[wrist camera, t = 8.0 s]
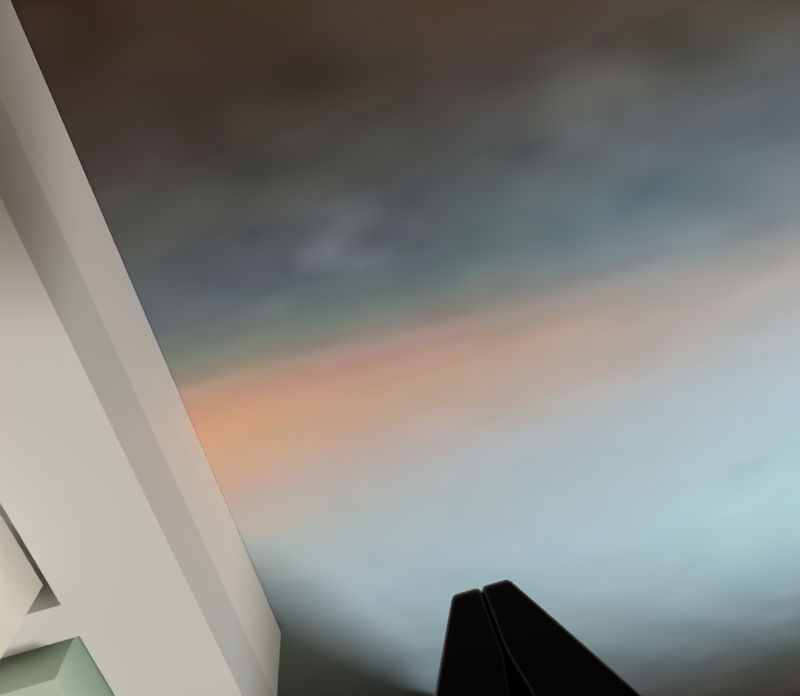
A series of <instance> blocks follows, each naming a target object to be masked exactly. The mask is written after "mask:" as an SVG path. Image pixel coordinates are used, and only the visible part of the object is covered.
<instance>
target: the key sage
mask: <svg viewBox="0 0 800 696" xmlns="http://www.w3.org/2000/svg"><path fill="white" fill-rule="evenodd" d="M0 696H115V695H114V693H113V691H112V690H111V688H110V686H109V685H108V683H107V681H106V680H105V678H104V676H103V675H102V673H101V671H100V670H99V668H98V666H97V665H96V663H95V661H94V660H93V658H92V656H91V654H90V653H89V651H88V649H87V648H86V646H85V644H84V643H83V641H82V639H81V638H80V636H77V637H74V638H70V639H67V640H63V641H60V642H56V643H53V644H50V645H46V646H43V647H39V648H36V649H32V650H29V651H25V652H22V653H19V654H15V655H12V656H8V657H5V658H1V659H0Z"/></svg>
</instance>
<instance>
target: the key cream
mask: <svg viewBox="0 0 800 696" xmlns="http://www.w3.org/2000/svg"><path fill="white" fill-rule="evenodd" d="M42 586H43V584H42V583H41V581H40V579H39V578H38V576H37V574H36V573H35V571H34V569H33V568H32V566H31V564H30V563H29V561H28V559H27V558H26V556H25V554H24V553H23V551H22V549H21V548H20V546H19V544H18V543H17V541H16V539H15V538H14V536H13V534H12V533H11V531H10V529H9V528H8V526H7V524H6V523H5V521H4V519H3V518H2V516H1V514H0V659H1V657H2V656H3V654H4V652H5V650H6V649H7V647H8V645H9V643H10V642H11V640H12V638H13V637H14V635H15V633H16V631H17V630H18V628H19V626H20V624H21V623H22V621H23V619H24V617H25V616H26V614H27V612H28V610H29V609H30V607H31V605H32V603H33V602H34V600H35V598H36V596H37V595H38V593H39V591H40V589H41V588H42Z"/></svg>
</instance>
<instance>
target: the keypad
mask: <svg viewBox="0 0 800 696" xmlns="http://www.w3.org/2000/svg"><path fill="white" fill-rule="evenodd" d="M0 514H1V516H2V518H3V519H4V521H5V523H6V524H7V526H8V528H9V529H10V531H11V533H12V534H13V536H14V538H15V539H16V541H17V543H18V544H19V546H20V548H21V549H22V551H23V553H24V554H25V556H26V558H27V559H28V561H29V563H30V564H31V566H32V568H33V569H34V571H35V573H36V574H37V576H38V578H39V579H40V581H41V583H42V584H43V586H42V588H41V589H40V591H39V593H38V595H37V596H36V598H35V600H34V602H33V603H32V605H31V607H30V609H29V610H28V612H27V614H26V616H25V617H24V619H23V621H22V623H21V624H20V626H19V628H18V630H17V631H16V633H15V635H14V637H13V638H12V640H11V642H10V643H9V645H8V647H7V649H6V650H5V652H4V654H3V656H2V657H1V658H5V657H8V656H12V655H15V654H19V653H22V652H25V651H29V650H32V649H36V648H39V647H43V646H46V645H50V644H53V643H56V642H60V641H63V640H67V639H70V638H74V637H77V636H80V638H81V639H82V641H83V643H84V644H85V646H86V648H87V649H88V651H89V653H90V654H91V656H92V658H93V660H94V661H95V663H96V665H97V666H98V668H99V670H100V671H101V673H102V675H103V676H104V678H105V680H106V681H107V683H108V685H109V686H110V688H111V690H112V691H113V693H114V695H115V696H277V688H278V673H279V657H280V641H281V631H280V629H279V627H278V624H277V622H276V620H275V617H274V615H273V613H272V610H271V608H270V606H269V603H268V601H267V599H266V596H265V594H264V592H263V589H262V587H261V585H260V582H259V580H258V578H257V575H256V573H255V571H254V568H253V566H252V564H251V561H250V559H249V556H248V554H247V552H246V549H245V547H244V545H243V542H242V540H241V538H240V535H239V533H238V531H237V528H236V526H235V524H234V521H233V519H232V517H231V514H230V512H229V510H228V507H227V505H226V503H225V500H224V498H223V496H222V493H221V491H220V489H219V486H218V484H217V482H216V479H215V477H214V475H213V472H212V470H211V468H210V465H209V463H208V461H207V458H206V456H205V454H204V451H203V449H202V447H201V444H200V442H199V440H198V437H197V435H196V433H195V430H194V428H193V426H192V423H191V421H190V419H189V416H188V414H187V412H186V409H185V407H184V405H183V402H182V400H181V398H180V395H179V393H178V391H177V388H176V386H175V384H174V381H173V379H172V377H171V374H170V372H169V370H168V367H167V365H166V363H165V360H164V358H163V356H162V353H161V351H160V349H159V346H158V344H157V342H156V339H155V337H154V334H153V332H152V330H151V327H150V325H149V323H148V320H147V318H146V316H145V313H144V311H143V309H142V306H141V304H140V302H139V299H138V297H137V295H136V292H135V290H134V288H133V285H132V283H131V281H130V278H129V276H128V274H127V271H126V269H125V267H124V264H123V262H122V260H121V257H120V255H119V253H118V250H117V248H116V246H115V243H114V241H113V239H112V236H111V234H110V232H109V229H108V227H107V225H106V222H105V220H104V218H103V215H102V213H101V211H100V208H99V206H98V204H97V201H96V199H95V197H94V194H93V192H92V190H91V187H90V185H89V183H88V180H87V178H86V176H85V173H84V171H83V169H82V166H81V164H80V162H79V159H78V157H77V155H76V152H75V150H74V148H73V145H72V143H71V141H70V138H69V136H68V134H67V131H66V129H65V127H64V124H63V122H62V120H61V117H60V115H59V113H58V110H57V108H56V105H55V103H54V101H53V98H52V96H51V94H50V91H49V89H48V87H47V84H46V82H45V80H44V77H43V75H42V73H41V70H40V68H39V66H38V63H37V61H36V59H35V56H34V54H33V52H32V49H31V47H30V45H29V42H28V40H27V38H26V35H25V33H24V31H23V28H22V26H21V24H20V21H19V19H18V17H17V14H16V12H15V10H14V7H13V5H12V3H11V0H0Z"/></svg>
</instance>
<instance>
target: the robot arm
mask: <svg viewBox="0 0 800 696" xmlns="http://www.w3.org/2000/svg"><path fill="white" fill-rule="evenodd" d="M435 696H642V695H641V694H640V693H639V692H638V691H636V690H635V689H634V688H633V687H632V686H631V685H630V684H628V683H627V682H626V681H625V680H624V679H623V678H622V677H620V676H619V675H618V674H617V673H616V672H615V671H613V670H612V669H611V668H610V667H609V666H608V665H607V664H605V663H604V662H603V661H602V660H601V659H600V658H599V657H597V656H596V655H595V654H594V653H593V652H592V651H590V650H589V649H588V648H587V647H586V646H585V645H584V644H582V643H581V642H580V641H579V640H578V639H577V638H576V637H574V636H573V635H572V634H571V633H570V632H569V631H567V630H566V629H565V628H564V627H563V626H562V625H561V624H559V623H558V622H557V621H556V620H555V619H554V618H553V617H551V616H550V615H549V614H548V613H547V612H546V611H544V610H543V609H542V608H541V607H540V606H539V605H538V604H536V603H535V602H534V601H533V600H532V599H531V598H530V597H528V596H527V595H526V594H525V593H524V592H523V591H521V590H520V589H519V588H518V587H517V586H516V585H515V584H513V583H512V582H511V581H509V580H503V581H500V582H496V583H493V584H490V585H486V586H484V587H483V589H482V592H481V591H480V590H479V589H473V590H469V591H466V592H462V593H459V594H456V595H454V596H453V598H452V601H451V606H450V612H449V618H448V623H447V629H446V634H445V640H444V646H443V651H442V657H441V663H440V668H439V674H438V680H437V685H436V691H435Z"/></svg>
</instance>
